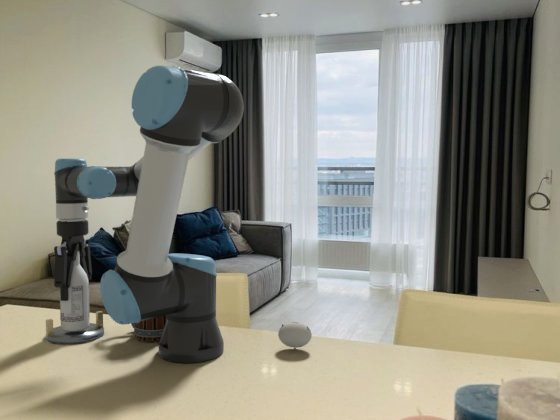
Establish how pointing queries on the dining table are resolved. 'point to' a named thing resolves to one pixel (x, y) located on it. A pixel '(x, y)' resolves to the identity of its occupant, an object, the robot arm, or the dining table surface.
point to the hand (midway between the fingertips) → (74, 308)
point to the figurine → (294, 334)
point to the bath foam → (77, 300)
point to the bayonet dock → (75, 332)
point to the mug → (149, 329)
